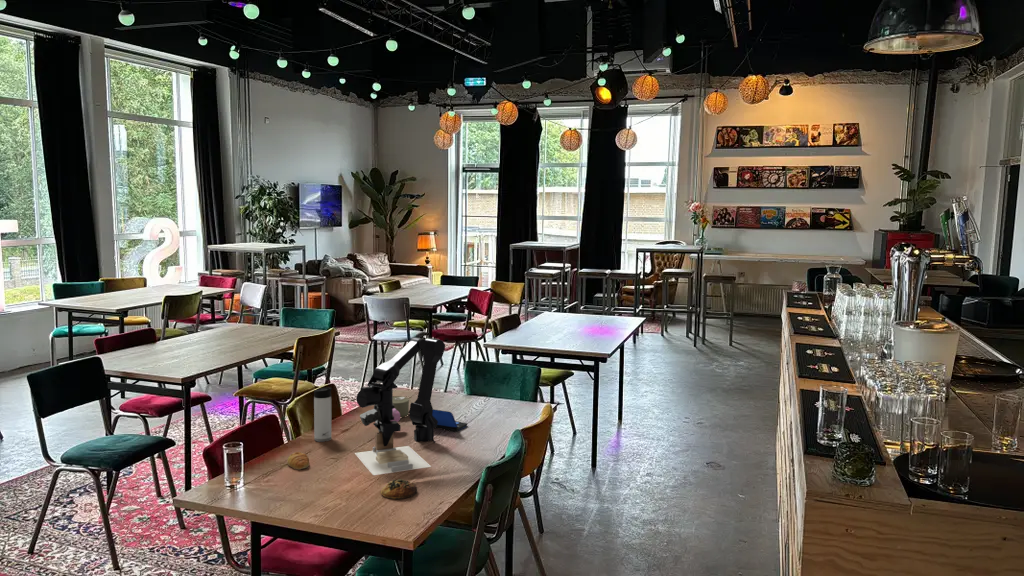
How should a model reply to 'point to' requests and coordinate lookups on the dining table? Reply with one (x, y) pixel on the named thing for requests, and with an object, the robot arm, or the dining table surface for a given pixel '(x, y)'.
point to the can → (401, 405)
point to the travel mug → (322, 414)
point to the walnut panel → (379, 442)
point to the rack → (390, 467)
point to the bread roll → (399, 489)
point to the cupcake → (396, 415)
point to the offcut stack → (391, 456)
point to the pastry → (298, 460)
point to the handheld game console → (447, 421)
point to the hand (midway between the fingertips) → (384, 444)
